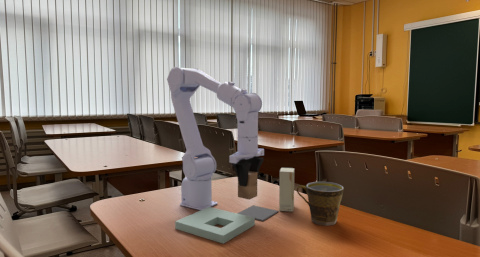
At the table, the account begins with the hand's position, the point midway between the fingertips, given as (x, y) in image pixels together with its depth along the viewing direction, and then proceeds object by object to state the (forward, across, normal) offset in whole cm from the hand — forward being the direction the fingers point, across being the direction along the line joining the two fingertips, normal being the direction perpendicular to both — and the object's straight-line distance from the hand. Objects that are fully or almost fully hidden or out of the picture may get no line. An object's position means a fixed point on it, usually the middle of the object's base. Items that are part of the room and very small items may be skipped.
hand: (247, 184), depth 97 cm
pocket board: (+10, -10, +3) cm, 15 cm away
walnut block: (+4, 0, 0) cm, 4 cm away
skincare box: (+10, +14, -5) cm, 18 cm away
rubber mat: (+10, +5, 0) cm, 11 cm away
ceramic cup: (+10, +10, -17) cm, 22 cm away
